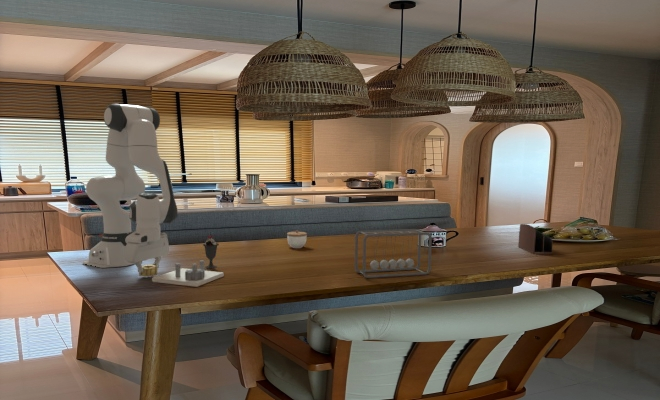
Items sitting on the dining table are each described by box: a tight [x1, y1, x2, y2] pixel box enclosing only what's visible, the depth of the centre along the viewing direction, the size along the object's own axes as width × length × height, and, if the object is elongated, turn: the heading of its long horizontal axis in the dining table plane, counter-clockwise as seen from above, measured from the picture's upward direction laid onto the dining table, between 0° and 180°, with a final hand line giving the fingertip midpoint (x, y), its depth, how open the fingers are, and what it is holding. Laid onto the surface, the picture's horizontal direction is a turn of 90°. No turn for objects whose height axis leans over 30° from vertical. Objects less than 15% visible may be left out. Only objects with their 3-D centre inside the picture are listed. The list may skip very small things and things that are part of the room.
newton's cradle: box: [354, 228, 433, 279], centre depth 201 cm, size 30×10×18 cm, turn 107°
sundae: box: [202, 232, 220, 269], centre depth 210 cm, size 7×7×15 cm
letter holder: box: [517, 223, 553, 255], centre depth 258 cm, size 10×20×14 cm, turn 1°
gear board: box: [151, 259, 225, 288], centre depth 189 cm, size 20×18×7 cm
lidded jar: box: [286, 229, 308, 249], centre depth 261 cm, size 11×11×9 cm
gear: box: [138, 264, 159, 277], centre depth 190 cm, size 7×7×3 cm
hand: (148, 270), depth 190 cm, fingers closed on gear, 7 cm apart
